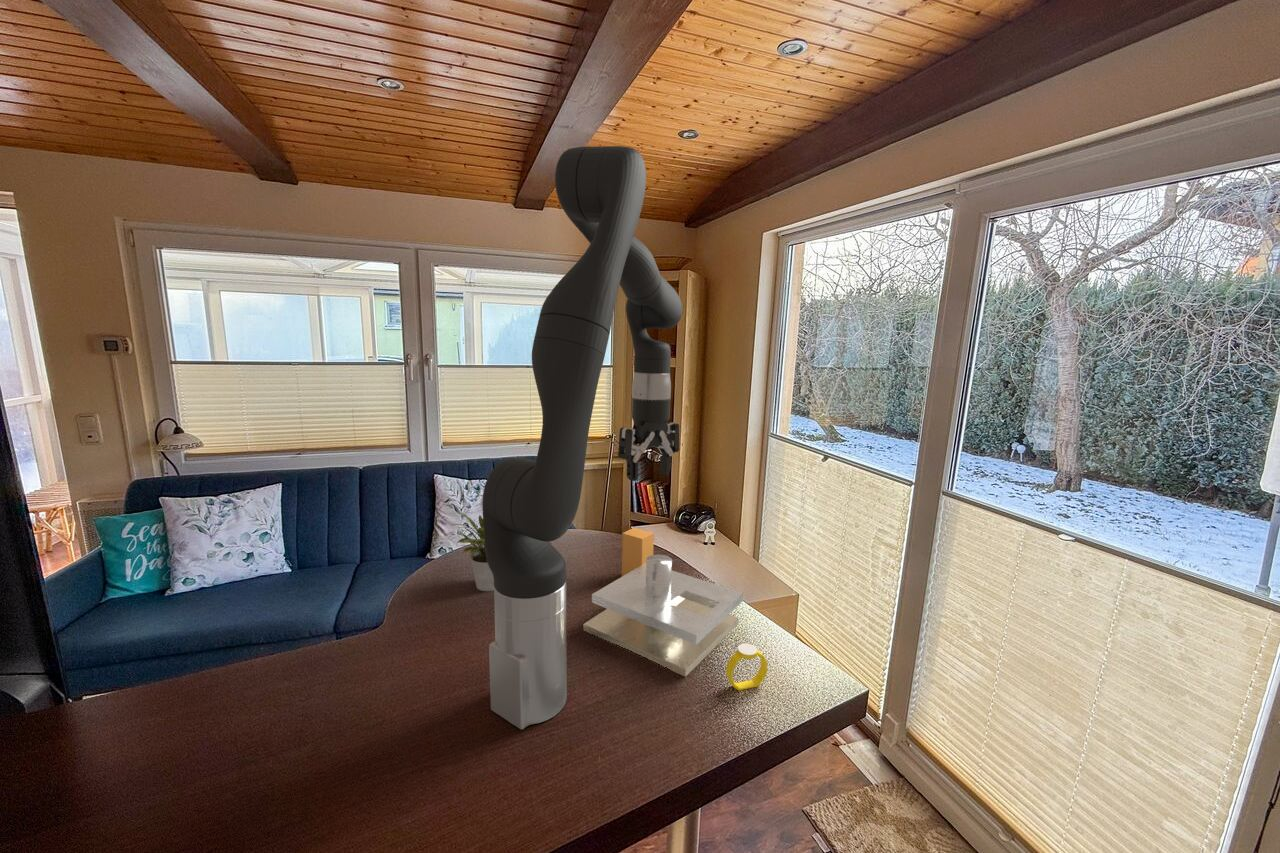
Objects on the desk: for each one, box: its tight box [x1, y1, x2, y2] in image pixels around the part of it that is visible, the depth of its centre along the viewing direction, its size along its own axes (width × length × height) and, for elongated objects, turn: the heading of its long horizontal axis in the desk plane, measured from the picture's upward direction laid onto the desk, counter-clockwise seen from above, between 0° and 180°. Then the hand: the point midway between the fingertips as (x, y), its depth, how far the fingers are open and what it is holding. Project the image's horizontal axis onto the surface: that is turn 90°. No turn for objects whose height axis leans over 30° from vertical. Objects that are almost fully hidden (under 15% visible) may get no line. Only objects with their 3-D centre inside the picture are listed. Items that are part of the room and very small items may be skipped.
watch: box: [725, 643, 768, 692], centre depth 73 cm, size 6×3×6 cm, turn 108°
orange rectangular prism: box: [621, 527, 655, 577], centre depth 105 cm, size 4×5×10 cm
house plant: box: [452, 511, 494, 592], centre depth 101 cm, size 14×14×16 cm
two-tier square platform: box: [582, 554, 744, 678], centre depth 87 cm, size 18×21×12 cm
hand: (649, 476), depth 102 cm, fingers open, 8 cm apart
